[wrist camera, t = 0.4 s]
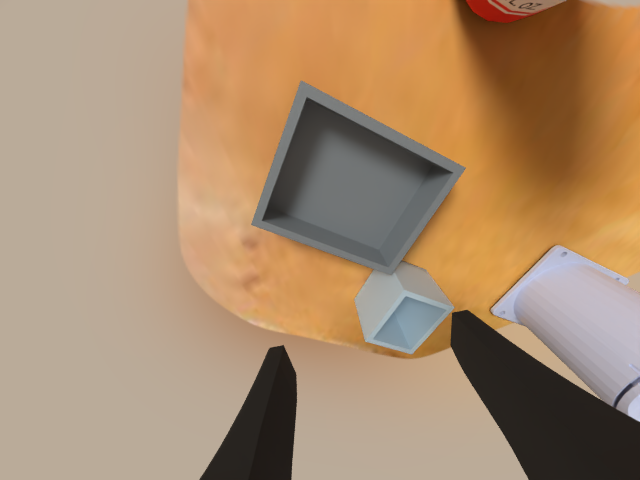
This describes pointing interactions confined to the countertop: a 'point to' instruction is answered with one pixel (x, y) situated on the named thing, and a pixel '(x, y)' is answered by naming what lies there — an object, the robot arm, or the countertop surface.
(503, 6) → the beer can
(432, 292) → the small crate
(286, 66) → the countertop surface
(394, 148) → the box
